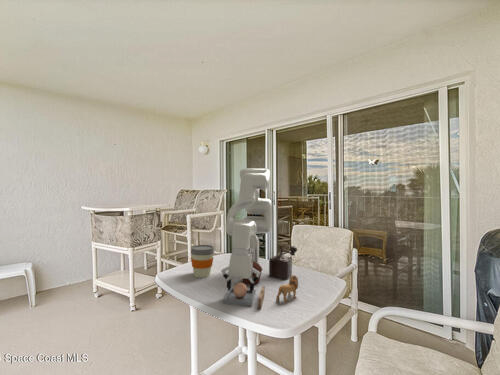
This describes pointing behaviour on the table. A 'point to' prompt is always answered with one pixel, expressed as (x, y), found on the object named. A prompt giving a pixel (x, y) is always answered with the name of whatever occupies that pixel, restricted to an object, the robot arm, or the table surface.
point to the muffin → (258, 268)
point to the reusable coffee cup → (202, 260)
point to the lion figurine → (288, 288)
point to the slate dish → (234, 300)
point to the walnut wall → (261, 297)
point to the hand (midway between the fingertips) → (240, 290)
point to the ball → (240, 290)
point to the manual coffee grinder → (281, 264)
